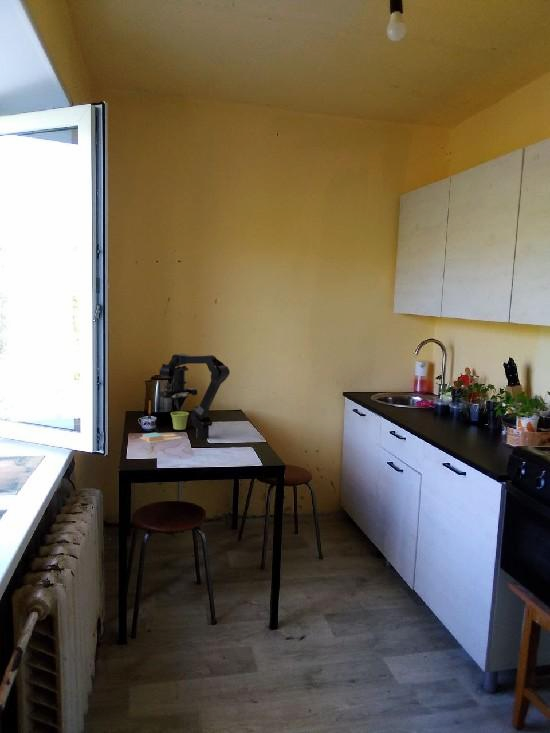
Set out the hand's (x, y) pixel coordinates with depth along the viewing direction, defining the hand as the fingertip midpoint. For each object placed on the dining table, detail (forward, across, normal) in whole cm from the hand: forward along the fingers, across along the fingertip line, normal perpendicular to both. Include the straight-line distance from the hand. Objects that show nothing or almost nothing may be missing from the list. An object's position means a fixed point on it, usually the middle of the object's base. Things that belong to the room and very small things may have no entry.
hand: (178, 410), depth 272 cm
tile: (+11, +13, +4) cm, 17 cm away
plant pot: (+13, -6, -8) cm, 16 cm away
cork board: (+12, +12, +4) cm, 17 cm away
